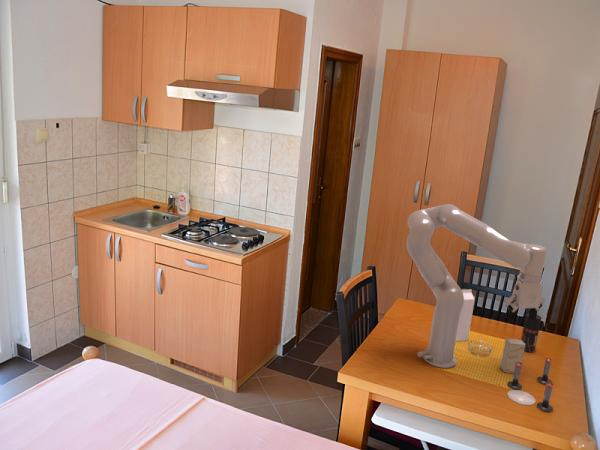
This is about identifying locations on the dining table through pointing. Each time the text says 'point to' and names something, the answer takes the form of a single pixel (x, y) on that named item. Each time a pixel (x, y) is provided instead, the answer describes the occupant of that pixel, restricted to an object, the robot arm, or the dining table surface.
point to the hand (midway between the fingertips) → (521, 320)
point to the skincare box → (512, 354)
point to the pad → (521, 397)
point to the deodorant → (530, 333)
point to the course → (543, 380)
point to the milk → (465, 316)
